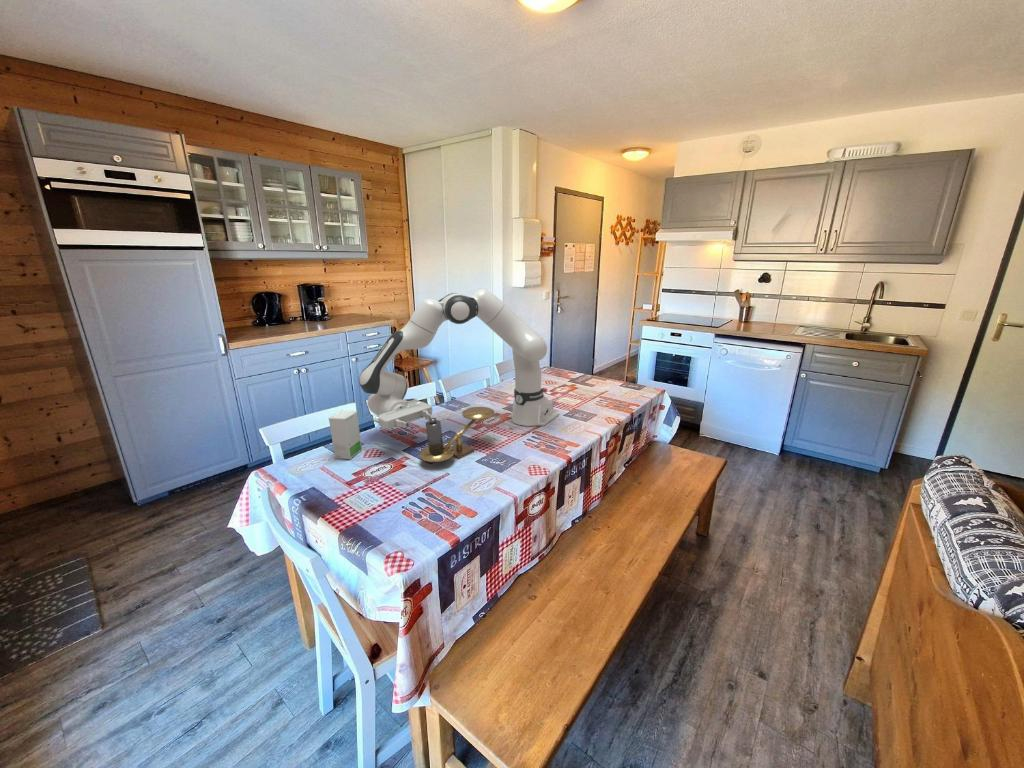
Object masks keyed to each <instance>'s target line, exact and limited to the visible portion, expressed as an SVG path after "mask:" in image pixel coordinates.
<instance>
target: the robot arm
mask: <svg viewBox="0 0 1024 768" xmlns="http://www.w3.org/2000/svg"><path fill="white" fill-rule="evenodd" d="M475 317H477V318H478V319H479V320H480V321H482V323H484V324H485V326H487V327H488V328H489V329H490V330H491V331H493V333H495V334H496V335H497V336H498V337H499V338H500V339H501V340H503V341H504V342H505V343H506V344H507V345H508V346H509V347H510V348H511V349H512V357H513V360H512V361H513V366H514V380H515V381H514V386H515V387H514V390H513V397H514V398H513V403H512V404H513V405H512V412H511V413H510V414H511V422H512V423H514V424H516V425H519V426H525V427H532V426H539V427H541V426H543V427H544V426H546V425H547V424H549V423H550V422H552V421H553V420H554V419H555V418H557V417H558V416H559V415H560V414H559V412H558V411H557V410H555V409H554V403H553V402H552V401H551V400H550V399H549V398H547V397H546V396H545V395H544V393H545V394H547V392H548V388H547V387H542V368H541V365H540V361H541V360H543V359H544V358H545V356H546V355H547V352H548V345H547V342H546V341H545V340H544V338H543V337H542V336H541V335H540V334H539V333H538V332H537V331H536V330H534V328H532V327H531V326H530V325H529V324H527V323H526V322H525V321H524V320H523V318H521V317H519V316H518V315H517V314H516V313H515V312H514V311H513V310H512V309H511V308H510V307H509V306H508V305H507V304H506V303H505V302H504V301H502V299H500V298H499V297H498V296H497V295H495V294H494V293H493V292H491V291H489V290H488V289H487V288H486V289H485V288H480V289H477V290H475V292H474V293H472V294H471V295H470V296H467V295H465V294H462V293H459V292H451V293H448V294H447V295H445V296H443V297H442V298H441V299H438V300H437V299H434V298H429V297H428V298H424V299H423V300H422V301H421V302H420V303H419V304H418V306H417V307H416V308H415V309H414V311H413V313H412V314H411V316H410V318H409V320H408V321H407V323H406V324H405V325H404V326H403V327H402V328H401V329H399V330H397V331H394V332H393V333H391V335H389V337H388V338H387V340H386V341H385V343H384V344H383V345H382V347H381V348H380V349H379V351H378V352H377V353H376V355H375V357H374V358H373V359H372V361H371V362H370V363H369V364H368V365H367V366H365V368H364V369H363V370H362V371H361V373H360V374H359V377H358V383H359V384H358V385H359V386H360V388H361V390H362V391H363V392H364V393H366V394H370V395H369V397H368V398H367V407H368V409H369V410H370V412H372V413H373V414H374V415H375V418H373V422H374V423H376V424H378V425H379V426H380V428H382V429H384V430H391V429H393V428H397V427H398V428H399V427H403V428H407V427H409V426H410V425H409V424H410V423H412V422H415V421H417V420H420V419H425V420H427V421H429V419H430V418H432V415H433V406H432V405H431V404H429V403H426V402H424V401H420V400H418V399H417V398H407V399H405V397H406V395H407V391H408V382H407V378H406V377H405V376H404V375H402V374H398V373H396V372H393V371H392V372H391V371H389V370H386V369H387V367H388V365H389V364H390V363H391V361H392V360H393V359H394V357H395V356H396V355H397V354H398V353H400V352H402V351H407V350H420V349H424V348H426V347H428V346H429V345H430V344H431V343H432V341H433V340H434V338H435V336H436V335H437V331H438V330H439V328H440V326H441V325H442V324H443V323H445V322H447V321H450V322H451V323H452V324H455V325H462V324H466V323H468V322H469V321H470V320H472V319H474V318H475Z"/></svg>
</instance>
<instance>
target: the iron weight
mask: <svg viewBox="0 0 1024 768" xmlns="http://www.w3.org/2000/svg"><path fill="white" fill-rule="evenodd" d="M425 429H426V437H427V445H428V446H427V447H429V453H430V455H433V456H437V455H440V454H442V453H443V452H444V447H443V445H444V441H443V440H444V439H443V431H442V423H441V421H440V420H438V419H437V417H431V418H430V419H428V420H427V422H425Z"/></svg>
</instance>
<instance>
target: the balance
mask: <svg viewBox="0 0 1024 768" xmlns="http://www.w3.org/2000/svg"><path fill="white" fill-rule="evenodd" d="M461 414H462V417H463V418H465V419H467V420H469V422H468V423H467V424H466V425H465V426H464V427H463V428H462V429H461V430H460V431H459V432H456V433H455V436H453V438H452V439H451V440H450V441H449V442H447V443H446V444H443V447H444V452H443V453H442V454H440V455H437V456H433V455H430V453H429V446H426V447H424V448H422V449H421V450H420V451H419V453H418V457H419V459H420V460H422V461H424V462H427V463H440V462H444V461H447V460H450V459H451V458H452V457H453V458H455V459H457V460H459V459H462V458H464V457H466V456H468V455H470V453H471V454H472V452H473V453H475V452H474V451H476V449H475V448H474V447H472V446H470V445H468V444H466V443H464V442H463V441H462V436H463V435H464V434H465V433H466V432H467V431H468V430H469V428H471V427H472V426H473V425H474V424H475V423H476V422H478V421H481V420H482V421H483V420H488V419H491V418H492V417H493V416H494V415H495V410H494V409H492V408H491V407H486V406H473V407H468V408H466V409H464V410H463V411H462V412H461ZM454 443H455V444H454Z"/></svg>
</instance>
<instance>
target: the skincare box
mask: <svg viewBox="0 0 1024 768" xmlns="http://www.w3.org/2000/svg"><path fill="white" fill-rule="evenodd" d="M328 422H329V429H330V435H331V441H332V447H333V455H334V459H339V460H351V459H353V458H352V457H355V456H356V455H358V454H359V453H360V452H362V451H361V450H363V448H362V441H361V433H360V424H359V418H358V411H356V410H341V411H339V412H337V413H334V414H333V415H331V416H330V417H328ZM357 453H358V454H357Z"/></svg>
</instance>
